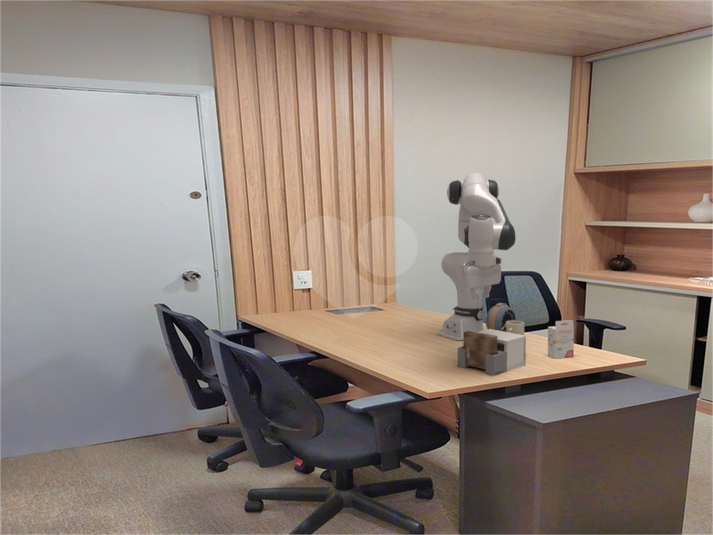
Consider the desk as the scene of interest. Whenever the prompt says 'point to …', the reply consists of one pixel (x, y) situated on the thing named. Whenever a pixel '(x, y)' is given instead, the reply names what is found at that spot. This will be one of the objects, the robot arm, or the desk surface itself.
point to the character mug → (515, 327)
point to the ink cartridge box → (561, 339)
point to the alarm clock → (499, 317)
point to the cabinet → (501, 352)
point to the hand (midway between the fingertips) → (480, 298)
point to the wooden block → (479, 348)
